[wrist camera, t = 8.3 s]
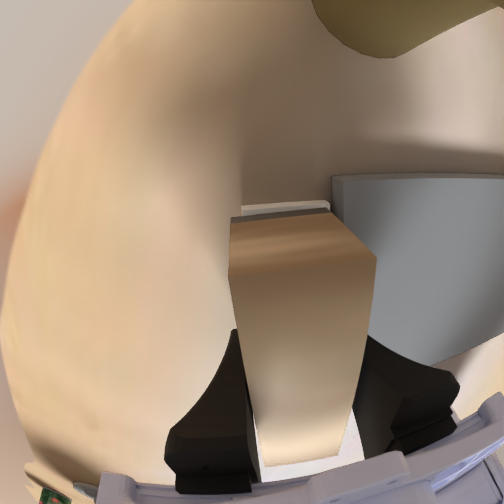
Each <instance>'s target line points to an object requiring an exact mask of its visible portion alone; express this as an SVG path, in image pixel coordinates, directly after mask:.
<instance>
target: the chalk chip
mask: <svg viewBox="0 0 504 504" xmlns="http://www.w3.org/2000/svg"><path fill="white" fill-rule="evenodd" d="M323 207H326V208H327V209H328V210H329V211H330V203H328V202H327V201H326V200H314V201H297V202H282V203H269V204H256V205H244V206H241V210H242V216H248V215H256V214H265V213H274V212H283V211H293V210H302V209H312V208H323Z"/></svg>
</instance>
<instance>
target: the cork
mask: <svg viewBox="0 0 504 504" xmlns="http://www.w3.org/2000/svg"><path fill="white" fill-rule="evenodd" d="M312 3H313V5H314V8H315V10H316V13H317V15H318V17H319V18H320V20H321V21H322V22H323V24H324V25H325V26H326V28H327V29H328V30H329V32H331V33H332V34H333V35H334V36H335V37H336V38H338V39H339V40H340V41H341V42H342V43H343V44H345V45H347V46H348V47H350V48H352V49H354V50H356V51H358V52H359V53H361V54H365V55H368V56H372V57H376V58H395V57H397V56H399V55H402V54H404V53H406V52H408V51H410V50H411V49H413V48H415V47H417V46H418V45H420V44H422V43H424V42H426V41H428V40H429V39H431V38H433V37H435V36H437V35H439V34H441V33H443V32H444V31H446V30H448V29H450V28H452V27H454V26H456V25H458V24H460V23H462V22H464V21H466V20H469V19H471V18H473V17H475V16H477V15H479V14H482V13H484V12H486V11H488V10H491V9H493V8H495V7H498V6H499V7H501V8H503V9H504V0H312Z"/></svg>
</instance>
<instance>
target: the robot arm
mask: <svg viewBox="0 0 504 504" xmlns="http://www.w3.org/2000/svg"><path fill="white" fill-rule="evenodd" d="M459 390H460V385H459V383H458V382H457V380H456V379H455V377H454V376H453V375H452V373H451V372H450V371H446V370H441V369H437V368H433V367H429V366H426V365H423V364H420V363H418V362H415V361H413V360H410V359H408V358H406V357H404V356H402V355H399V354H398V353H396V352H394V351H392V350H390V349H389V348H387V347H385V346H384V345H382V344H381V343H379V342H378V341H376V340H375V339H373V338H372V337H371V336H369V335H368V334H367V339H366V345H365V350H364V356H363V361H362V366H361V370H360V375H359V379H358V384H357V388H356V392H355V397H354V401H353V405H352V409H353V412H354V416H355V419H356V423H357V427H358V430H359V434H360V439H361V443H362V447H363V452H364V457H365V460H363V461H359V462H356V463H353V464H349V465H345V466H342V467H338V468H334V469H331V470H328V471H324V472H321V473H318V474H314V475H309V476H304V477H298V478H292V479H286V480H280V481H272V482H264V483H262V481H261V474H260V467H259V460H258V452H257V445H256V437H255V428H254V420H253V409H252V404H251V399H250V394H249V389H248V384H247V379H246V374H245V368H244V363H243V358H242V352H241V347H240V342H239V336H238V331H237V329H233V330H232V331H231V335H230V339H229V343H228V346H227V349H226V352H225V354H224V357H223V359H222V362H221V364H220V366H219V368H218V370H217V372H216V374H215V376H214V378H213V379H212V381H211V383H210V384H209V386H208V388H207V389H206V390H205V392H204V393H203V395H202V396H201V398H200V399H199V400H198V401H197V403H196V404H195V405H194V406H193V407H192V408H191V410H190V411H189V412H188V413H187V414H186V415H185V416H184V417H183V418H182V419H181V420H180V421H179V422H178V423H177V424H175V425H174V426H173V427H172V428H171V429H170V431H169V434H168V437H167V441H166V445H165V454H164V460H165V462H166V464H167V465H168V466H169V467H170V468H171V469H172V470H173V472H174V473H175V474H176V481H175V485H160V484H149V483H139V482H136V481H135V480H134V479H133V478H132V477H130V476H127V475H123V474H117V473H111V472H105V471H103V472H102V473H101V478H100V483H99V488H98V494H97V499H96V504H504V468H503V466H502V465H501V463H500V461H499V459H498V457H497V456H496V454H495V452H494V451H495V450H497V449H498V448H499V447H500V446H501V445H502V444H503V443H504V396H503V395H502V393H501V392H498V393H496V394H495V395H493V396H491V397H490V398H488V399H487V400H485V401H484V402H483V403H482V405H481V406H480V407H479V409H478V411H477V412H475V413H473V414H472V415H470V416H468V417H466V418H465V419H463V420H460V419H459V417H458V415H457V414H456V412H455V411H454V409H453V407H452V406H451V405H452V403H453V402H454V400H455V398H456V397H457V395H458V393H459ZM484 458H485V459H484ZM485 460H486V461H485Z"/></svg>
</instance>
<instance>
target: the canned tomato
mask: <svg viewBox="0 0 504 504" xmlns="http://www.w3.org/2000/svg"><path fill="white" fill-rule="evenodd" d="M71 502H72V500H71V499H70V498H68V497H66V496H65V495H63V494H61V493H59V492H56V491H54V490H52V489H49V488H47V487H43V489H42V493H41V497H40V501H39V504H71Z"/></svg>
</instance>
